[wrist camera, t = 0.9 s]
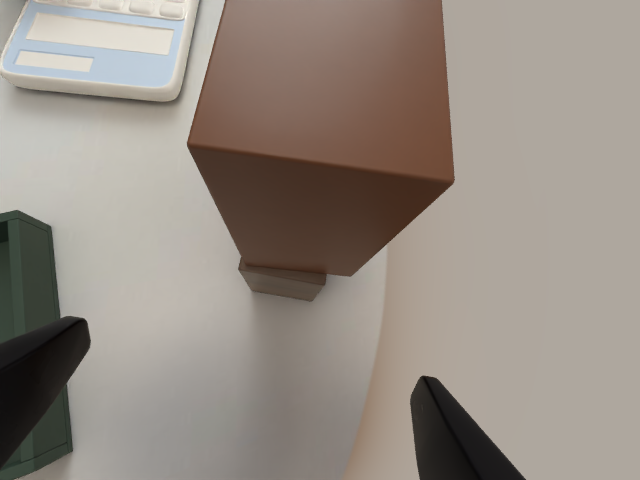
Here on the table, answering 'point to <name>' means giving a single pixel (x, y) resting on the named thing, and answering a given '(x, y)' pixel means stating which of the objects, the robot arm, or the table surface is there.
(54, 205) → the table surface
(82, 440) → the table surface
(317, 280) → the block
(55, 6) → the calculator
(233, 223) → the chocolate box
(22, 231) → the green tray
